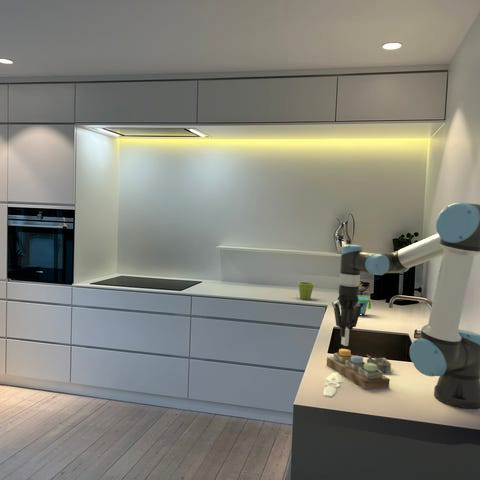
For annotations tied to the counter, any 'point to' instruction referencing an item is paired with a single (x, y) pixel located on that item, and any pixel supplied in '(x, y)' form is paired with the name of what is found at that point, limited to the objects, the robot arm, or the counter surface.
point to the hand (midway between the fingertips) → (344, 344)
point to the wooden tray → (357, 373)
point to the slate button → (356, 360)
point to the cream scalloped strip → (330, 390)
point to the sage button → (370, 367)
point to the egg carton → (380, 363)
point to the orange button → (344, 353)
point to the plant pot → (305, 290)
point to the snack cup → (364, 301)
